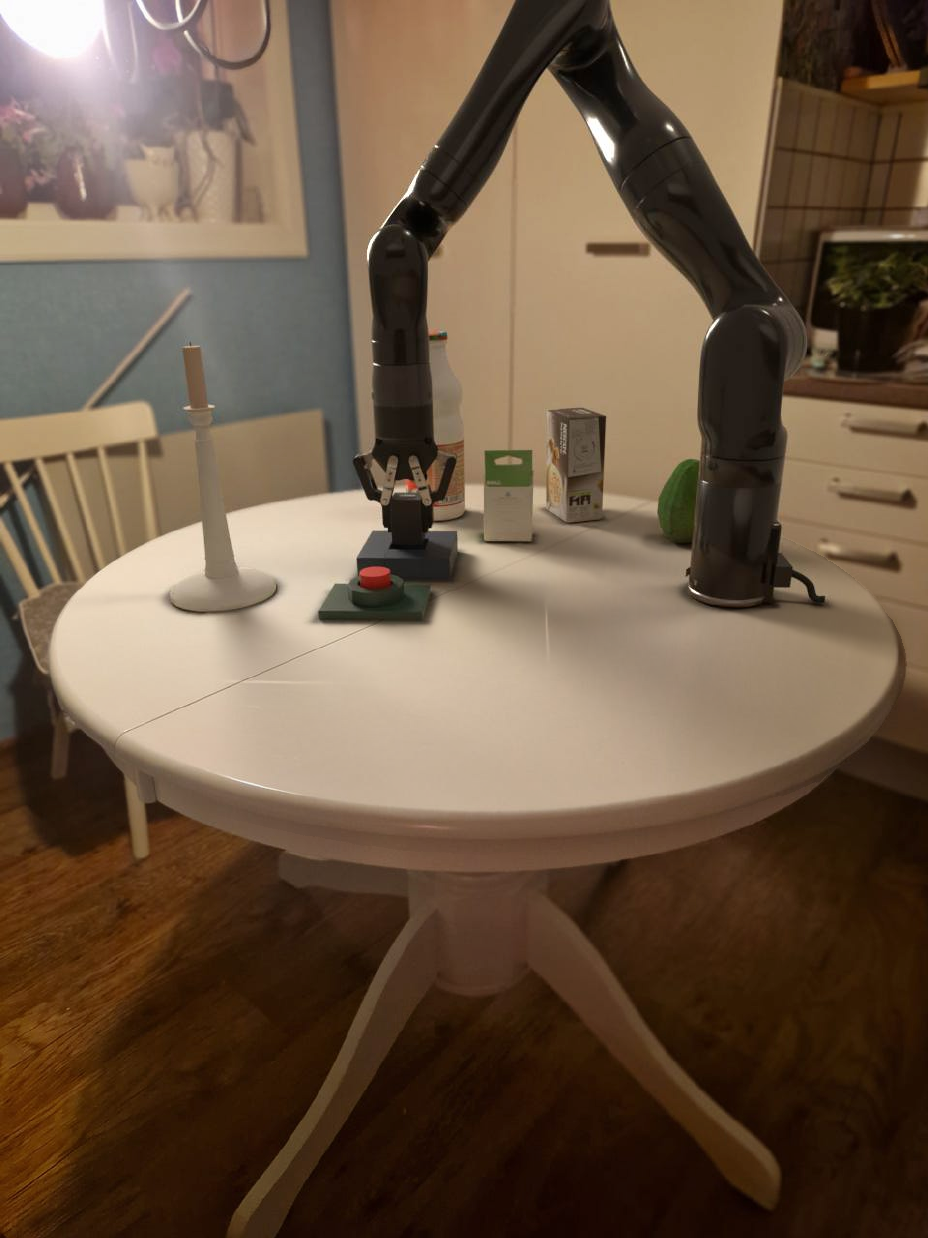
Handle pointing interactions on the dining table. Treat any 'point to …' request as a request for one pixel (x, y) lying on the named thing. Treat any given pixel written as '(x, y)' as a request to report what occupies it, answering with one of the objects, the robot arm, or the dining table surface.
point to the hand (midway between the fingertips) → (408, 530)
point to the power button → (375, 578)
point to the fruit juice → (445, 430)
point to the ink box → (508, 496)
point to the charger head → (406, 519)
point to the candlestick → (213, 519)
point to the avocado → (679, 502)
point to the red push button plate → (376, 601)
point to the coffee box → (575, 464)
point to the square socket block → (411, 555)
